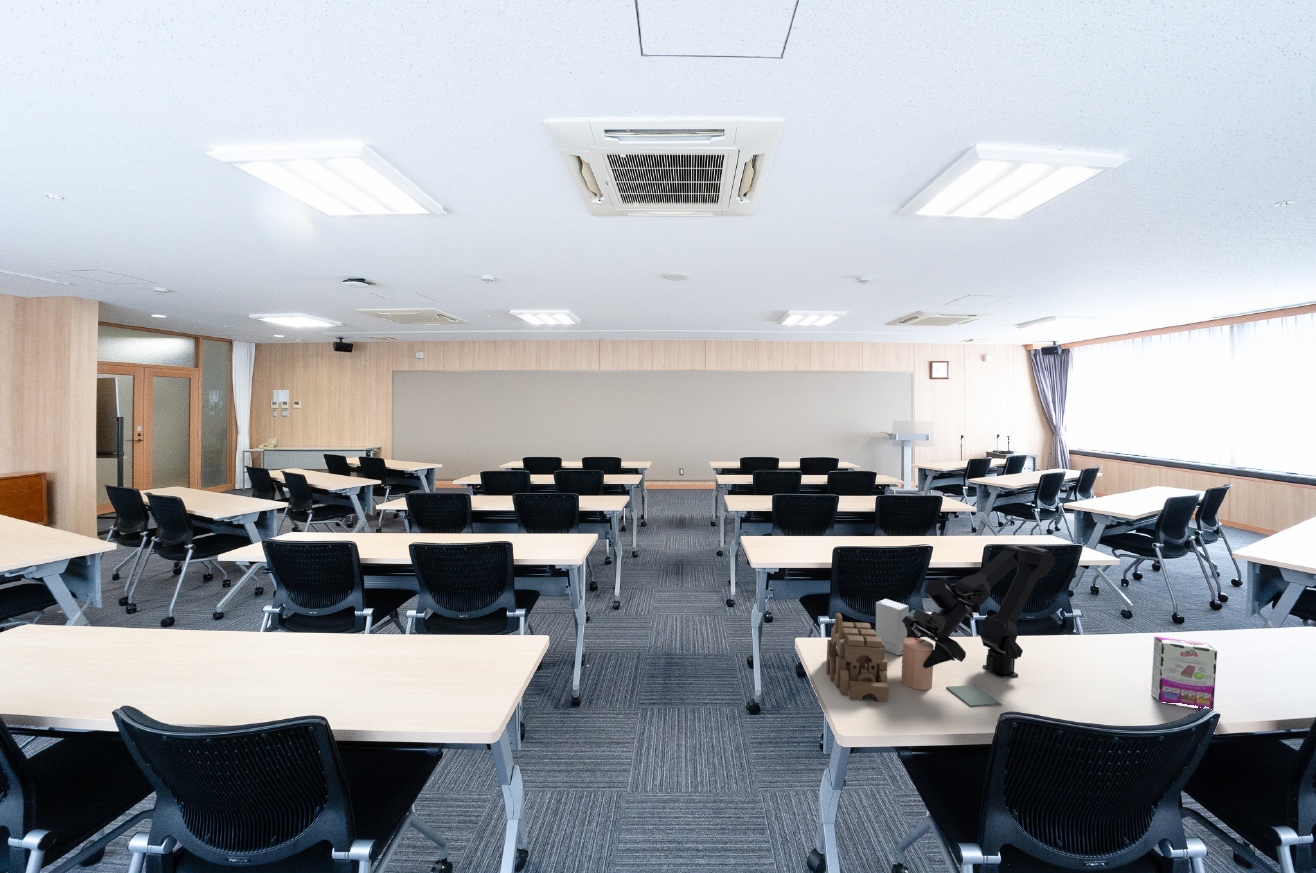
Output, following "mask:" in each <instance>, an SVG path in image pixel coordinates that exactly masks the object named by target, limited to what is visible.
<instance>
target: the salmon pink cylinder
mask: <svg viewBox="0 0 1316 873" xmlns="http://www.w3.org/2000/svg"><path fill="white" fill-rule="evenodd" d="M920 638H921V637H920ZM920 638H914V637H909V638H905V639H904V641H903V654H901V655H902V657H901V658H902V659H901V676H900V678H901V683H903V684H904V685H905V686H906V687H909V688H912V689H913V690H919V691H929V690H931V689H932V687H933V675H934V674H933V673H934V672H933V671H934V666H931V667H929V668H924V667H923V664H924V662H925V661H926V660H927V658H928V657H929V656H930V654H931V653H932V652H933V651H934V649H935V645H934V644H933V643H932V642H930V641H928V640H926V639H924V638H921V639H920Z"/></svg>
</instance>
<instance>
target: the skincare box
mask: <svg viewBox="0 0 1316 873" xmlns="http://www.w3.org/2000/svg"><path fill="white" fill-rule="evenodd" d="M909 610H910V609H909V604H907V605H906V604H905V603H901V602H897V601H894V600H891V599H888V598H884V599H882V600H878V601H876V602H875V633H876V635H877V636H878V637H880V638H881V640H882V642H883V644H884V645H885V648H884V651H886V652H888V653H891V654H893V655H896V656H900V655H903V653H902V650H903V641H904V639H905V638H906V637H907V629H906V628H905V624H904V623H903V622H902V620H903V619H904V618H905V616H910V615H909V613H910V612H909Z"/></svg>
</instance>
